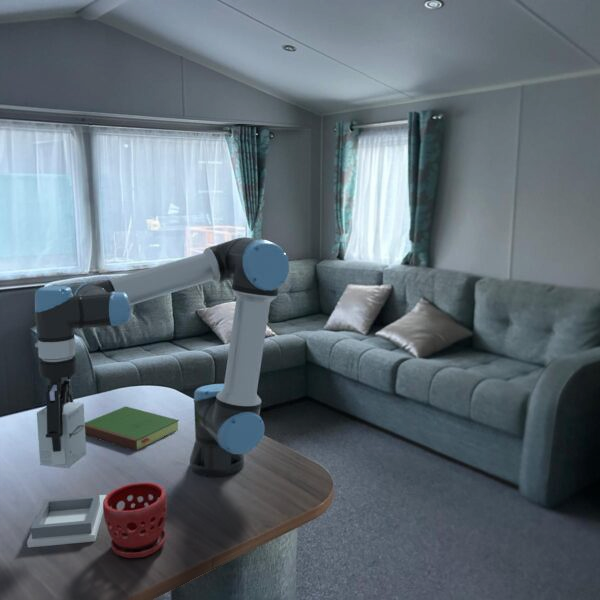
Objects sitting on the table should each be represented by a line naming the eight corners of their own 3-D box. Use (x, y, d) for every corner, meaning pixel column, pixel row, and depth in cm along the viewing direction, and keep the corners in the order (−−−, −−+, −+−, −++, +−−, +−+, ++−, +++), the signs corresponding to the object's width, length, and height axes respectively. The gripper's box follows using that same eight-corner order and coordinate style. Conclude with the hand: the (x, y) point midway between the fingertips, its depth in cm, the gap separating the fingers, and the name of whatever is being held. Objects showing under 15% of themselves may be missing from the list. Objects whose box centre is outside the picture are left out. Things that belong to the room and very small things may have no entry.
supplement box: (69, 469, 131) (66, 414, 128) (39, 465, 132) (35, 411, 130) (87, 454, 138) (84, 402, 135) (58, 451, 139) (55, 400, 137)
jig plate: (106, 500, 149) (105, 485, 149) (95, 541, 132) (93, 524, 131) (47, 505, 147) (46, 490, 146) (27, 547, 130) (26, 530, 129)
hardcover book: (81, 435, 190) (80, 424, 189) (126, 416, 206) (125, 406, 205) (137, 453, 177) (137, 441, 177) (180, 431, 193) (180, 420, 192)
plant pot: (159, 523, 139) (156, 475, 137) (175, 553, 128) (173, 501, 126) (100, 538, 133) (97, 488, 131) (112, 571, 122) (109, 517, 119)
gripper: (50, 345, 140) (56, 436, 144) (25, 372, 120) (33, 477, 124) (84, 344, 142) (89, 434, 146) (64, 370, 121) (71, 475, 125)
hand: (63, 454), depth 135 cm, fingers closed on supplement box, 9 cm apart
